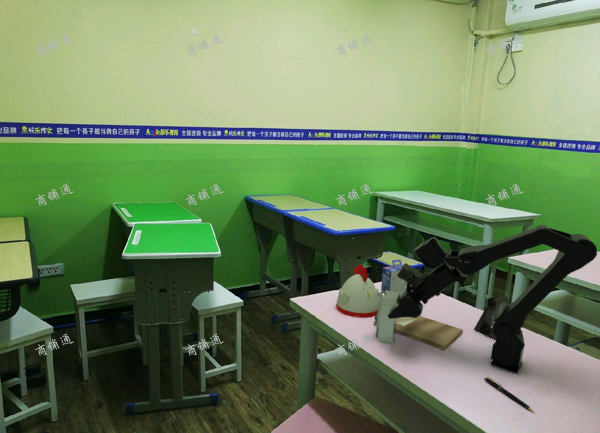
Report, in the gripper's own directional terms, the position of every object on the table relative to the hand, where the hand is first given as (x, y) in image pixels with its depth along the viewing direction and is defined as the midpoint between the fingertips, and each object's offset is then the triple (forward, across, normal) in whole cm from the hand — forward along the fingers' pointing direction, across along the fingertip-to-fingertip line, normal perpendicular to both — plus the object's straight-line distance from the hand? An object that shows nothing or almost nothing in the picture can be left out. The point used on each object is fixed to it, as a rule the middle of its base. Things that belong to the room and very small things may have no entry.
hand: (391, 311), depth 127 cm
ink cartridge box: (+8, -29, +4) cm, 30 cm away
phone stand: (-14, -18, +26) cm, 34 cm away
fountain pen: (-16, +15, +28) cm, 35 cm away
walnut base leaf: (+1, -10, +11) cm, 15 cm away
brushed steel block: (+6, 0, +6) cm, 8 cm away
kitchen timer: (+16, -16, -3) cm, 23 cm away
